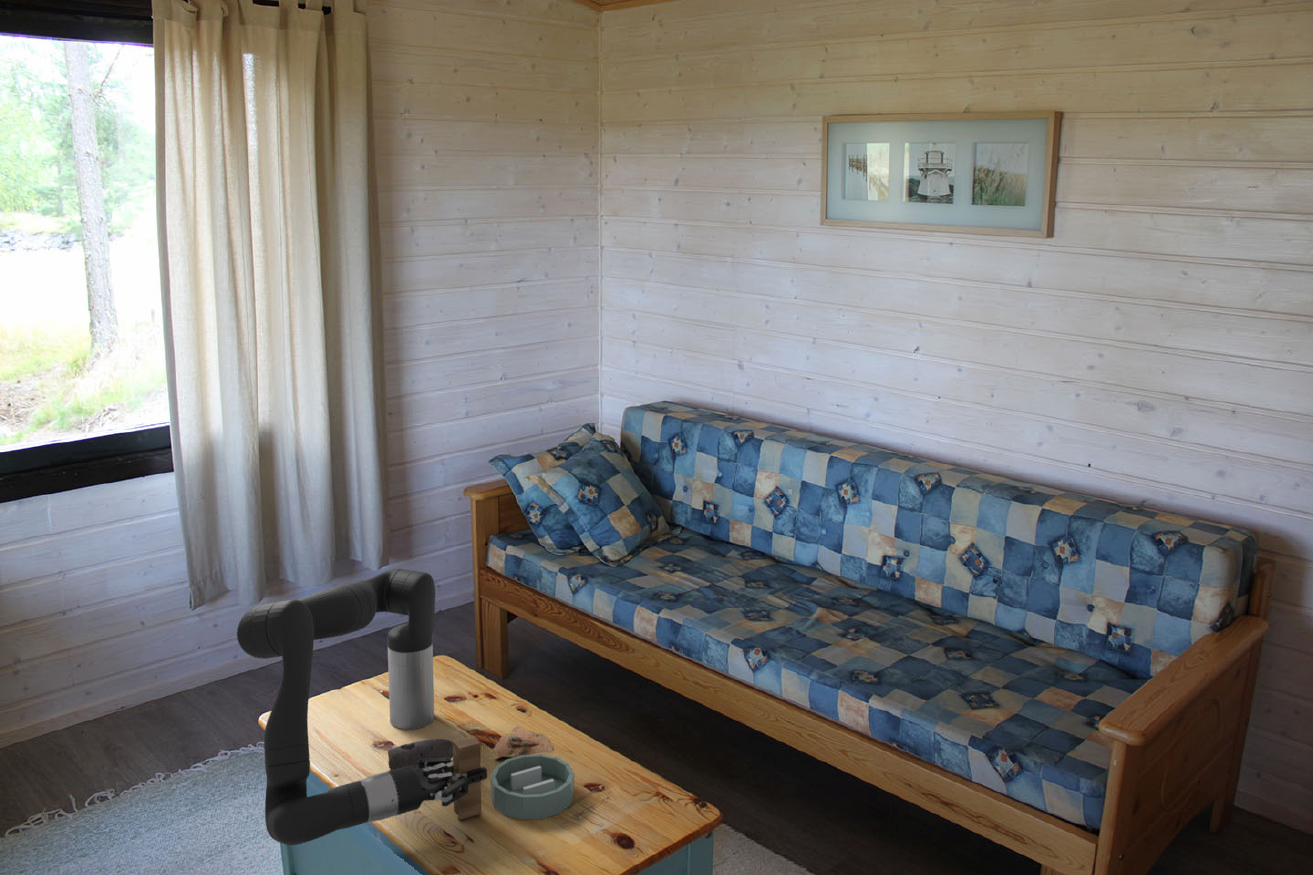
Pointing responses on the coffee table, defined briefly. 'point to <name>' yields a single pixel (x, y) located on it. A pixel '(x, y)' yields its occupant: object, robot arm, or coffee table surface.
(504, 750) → the clay slab
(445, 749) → the perforated stone tool
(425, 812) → the coffee table surface
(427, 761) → the robot arm
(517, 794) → the slotted round holder
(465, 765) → the tall wooden post
